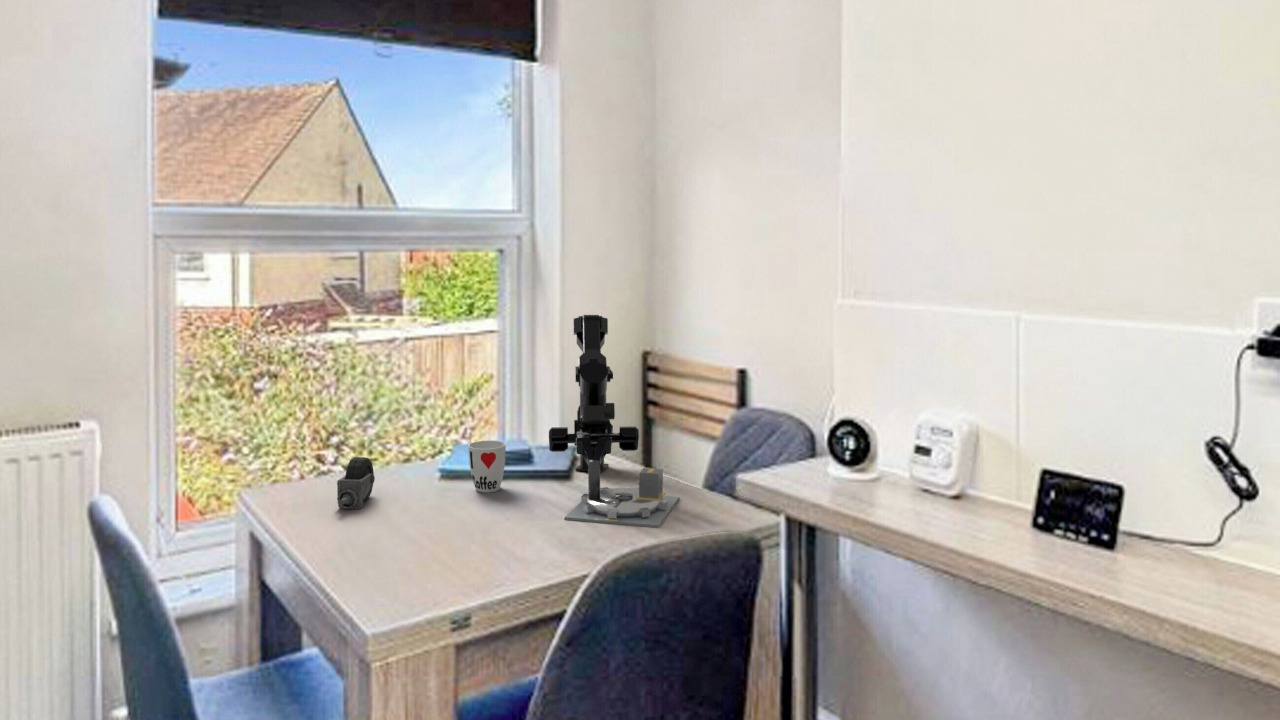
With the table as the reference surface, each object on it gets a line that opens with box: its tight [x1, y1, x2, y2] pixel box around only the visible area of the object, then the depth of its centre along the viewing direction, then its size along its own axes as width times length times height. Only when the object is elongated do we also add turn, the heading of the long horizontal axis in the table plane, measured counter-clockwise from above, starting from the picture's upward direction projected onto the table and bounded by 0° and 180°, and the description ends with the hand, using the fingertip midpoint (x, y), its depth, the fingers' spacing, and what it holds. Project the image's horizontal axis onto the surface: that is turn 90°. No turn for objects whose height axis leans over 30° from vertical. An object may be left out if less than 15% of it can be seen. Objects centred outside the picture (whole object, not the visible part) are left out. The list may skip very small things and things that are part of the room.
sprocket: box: [580, 459, 667, 519], centre depth 184 cm, size 18×18×10 cm
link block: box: [638, 467, 664, 498], centre depth 185 cm, size 4×4×5 cm
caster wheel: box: [336, 456, 376, 510], centre depth 187 cm, size 6×10×15 cm
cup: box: [467, 440, 507, 493], centre depth 197 cm, size 8×8×10 cm
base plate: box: [564, 495, 680, 529], centre depth 184 cm, size 19×19×1 cm
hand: (594, 474), depth 186 cm, fingers closed
